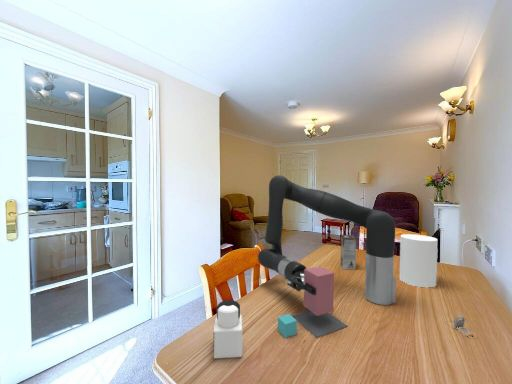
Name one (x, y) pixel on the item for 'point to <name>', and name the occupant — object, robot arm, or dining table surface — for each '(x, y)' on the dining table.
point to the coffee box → (348, 251)
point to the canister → (418, 260)
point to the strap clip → (460, 324)
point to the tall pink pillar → (319, 290)
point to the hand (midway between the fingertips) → (323, 289)
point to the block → (287, 325)
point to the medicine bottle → (228, 330)
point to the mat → (319, 323)
